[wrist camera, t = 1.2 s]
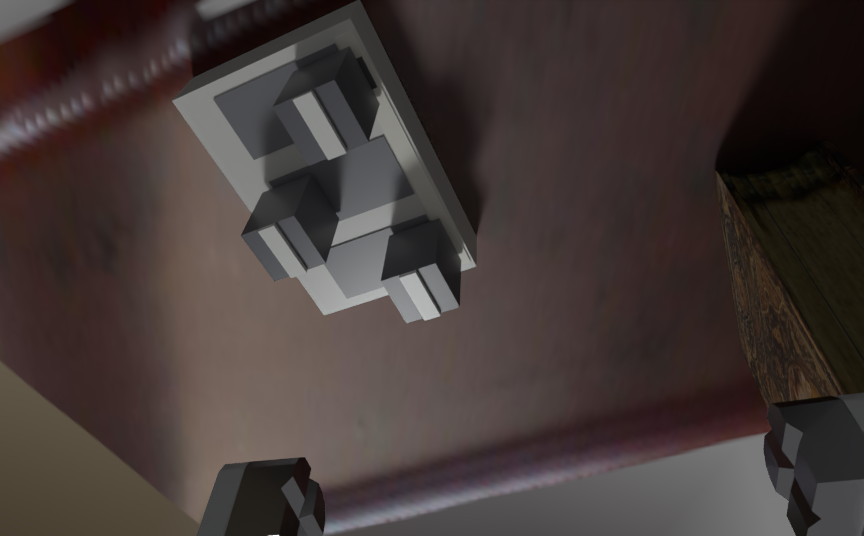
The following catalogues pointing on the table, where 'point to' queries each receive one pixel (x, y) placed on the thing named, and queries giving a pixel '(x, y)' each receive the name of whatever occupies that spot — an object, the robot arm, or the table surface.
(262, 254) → the tab middle
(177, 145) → the table surface
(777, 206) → the book
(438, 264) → the tab
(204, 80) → the switch panel
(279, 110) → the tab
